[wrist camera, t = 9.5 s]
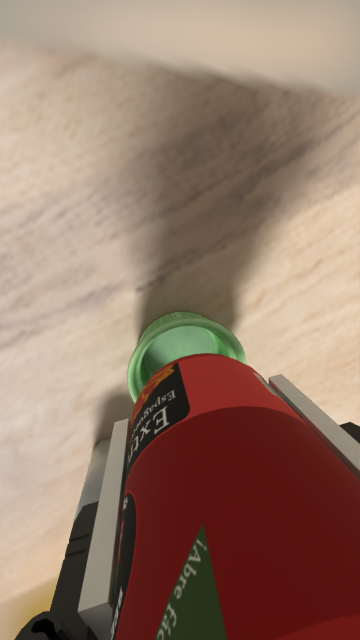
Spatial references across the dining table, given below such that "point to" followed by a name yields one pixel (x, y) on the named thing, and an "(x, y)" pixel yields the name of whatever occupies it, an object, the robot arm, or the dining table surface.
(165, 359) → the ramekin
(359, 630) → the canned food
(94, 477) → the pepper pot
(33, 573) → the dining table surface
